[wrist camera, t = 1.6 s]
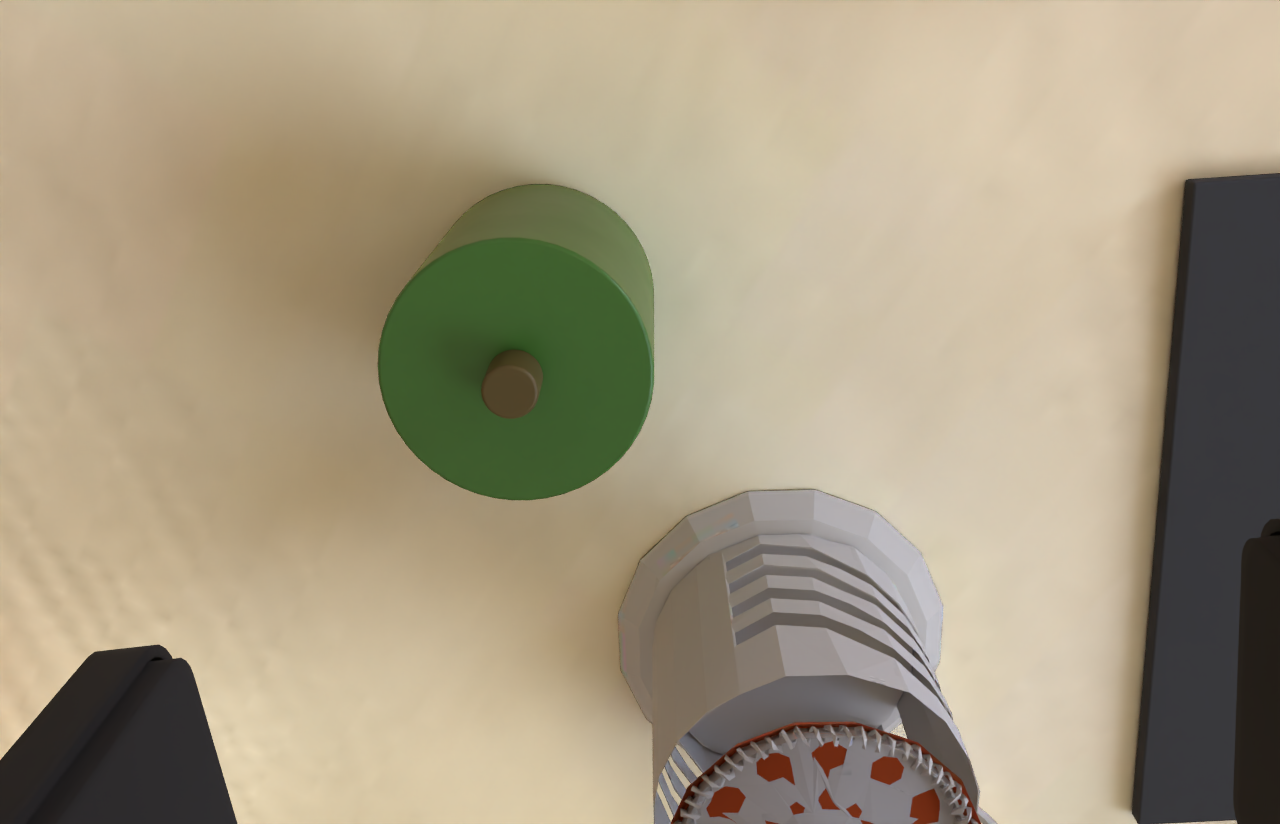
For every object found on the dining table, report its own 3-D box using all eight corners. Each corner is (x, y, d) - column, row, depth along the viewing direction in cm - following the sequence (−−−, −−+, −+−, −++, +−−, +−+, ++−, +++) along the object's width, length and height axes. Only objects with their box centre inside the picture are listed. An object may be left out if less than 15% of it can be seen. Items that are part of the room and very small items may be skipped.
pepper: (446, 405, 34) (385, 532, 26) (418, 191, 32) (343, 259, 24) (660, 392, 34) (662, 516, 26) (646, 176, 32) (644, 240, 24)
